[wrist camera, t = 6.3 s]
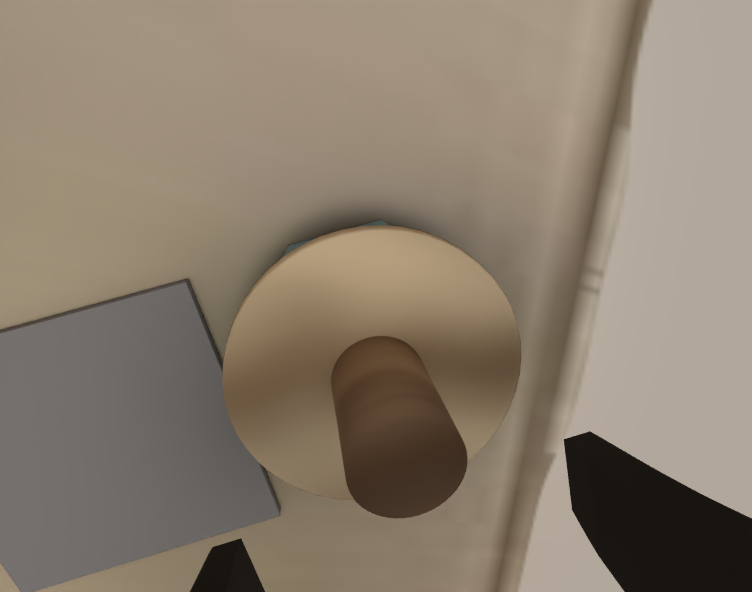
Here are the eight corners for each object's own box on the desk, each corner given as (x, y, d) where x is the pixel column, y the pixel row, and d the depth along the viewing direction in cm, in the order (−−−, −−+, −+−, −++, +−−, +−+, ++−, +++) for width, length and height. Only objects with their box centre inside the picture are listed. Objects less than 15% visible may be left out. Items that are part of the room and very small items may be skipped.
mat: (280, 508, 23) (280, 515, 22) (27, 586, 22) (22, 594, 22) (187, 278, 19) (185, 281, 18) (-127, 365, 18) (-136, 370, 17)
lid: (524, 444, 19) (602, 555, 15) (272, 515, 19) (267, 657, 14) (493, 192, 16) (582, 230, 11) (182, 268, 15) (132, 345, 10)
